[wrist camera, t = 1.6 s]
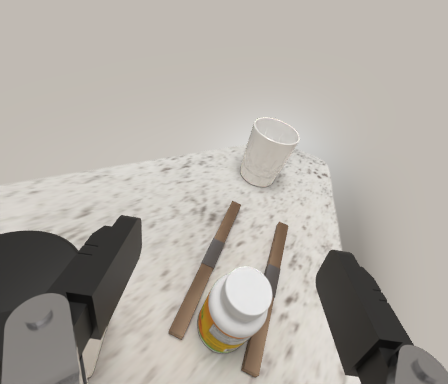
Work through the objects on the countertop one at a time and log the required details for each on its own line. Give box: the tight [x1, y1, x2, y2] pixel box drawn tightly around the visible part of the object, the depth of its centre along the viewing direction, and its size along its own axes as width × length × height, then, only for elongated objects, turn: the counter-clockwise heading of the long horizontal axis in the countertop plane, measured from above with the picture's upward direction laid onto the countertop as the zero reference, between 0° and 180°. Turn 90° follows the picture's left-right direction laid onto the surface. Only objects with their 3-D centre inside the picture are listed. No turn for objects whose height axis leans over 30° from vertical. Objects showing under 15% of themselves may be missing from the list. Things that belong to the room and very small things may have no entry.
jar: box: [0, 231, 107, 378], centre depth 17 cm, size 9×8×12 cm
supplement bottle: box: [198, 266, 272, 353], centre depth 22 cm, size 5×5×10 cm
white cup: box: [241, 117, 300, 187], centre depth 42 cm, size 8×8×10 cm
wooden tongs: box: [169, 201, 288, 377], centre depth 30 cm, size 10×20×1 cm, turn 160°
